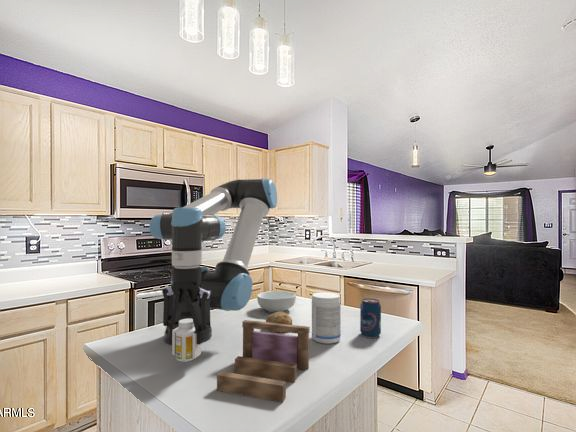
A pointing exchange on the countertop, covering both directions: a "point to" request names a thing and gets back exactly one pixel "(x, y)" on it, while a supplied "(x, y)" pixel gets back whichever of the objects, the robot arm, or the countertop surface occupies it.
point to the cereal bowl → (276, 300)
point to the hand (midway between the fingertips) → (186, 354)
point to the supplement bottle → (185, 340)
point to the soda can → (370, 318)
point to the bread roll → (279, 319)
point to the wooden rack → (267, 361)
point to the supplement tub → (326, 317)
